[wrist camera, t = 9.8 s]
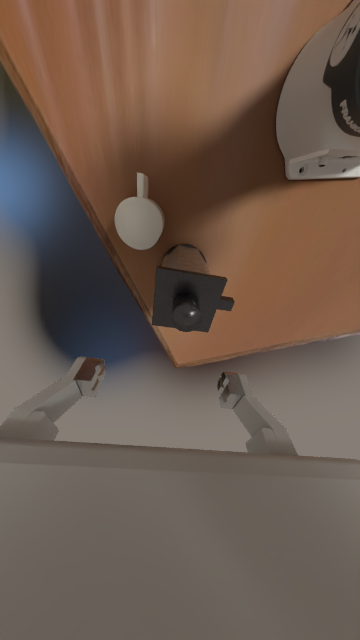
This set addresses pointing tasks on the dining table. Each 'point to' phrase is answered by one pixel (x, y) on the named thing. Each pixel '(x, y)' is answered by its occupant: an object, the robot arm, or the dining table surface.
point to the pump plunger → (186, 313)
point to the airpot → (187, 286)
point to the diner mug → (139, 218)
